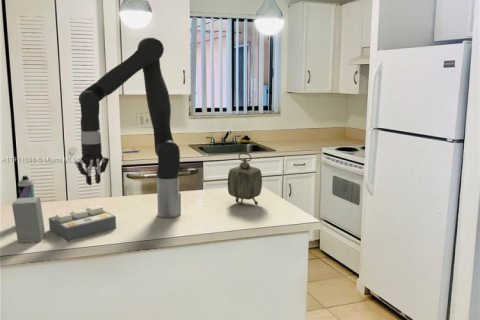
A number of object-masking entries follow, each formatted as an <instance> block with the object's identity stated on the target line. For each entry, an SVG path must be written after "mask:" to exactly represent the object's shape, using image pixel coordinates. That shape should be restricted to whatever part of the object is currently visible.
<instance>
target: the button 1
mask: <svg viewBox="0 0 480 320" xmlns="http://www.w3.org/2000/svg"><path fill="white" fill-rule="evenodd" d="M70 213H71V212H68V211H64V212H60V213H56V214H55V216H56V221H58V222H59V223H63V222H67V221H71V220H72V215H71V214H70Z"/></svg>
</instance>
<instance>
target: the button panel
mask: <svg viewBox="0 0 480 320" xmlns="http://www.w3.org/2000/svg"><path fill="white" fill-rule="evenodd" d="M84 209H85V210H87V211H88V209H87V208H84ZM69 213H70V214H71V215H72V212H69ZM116 219H117V218H116V216H115V215H114V214H111V213H109V212H108V211H105V210H104V209H103V213H100V214H96V215H91V214H89V213H88V216H87V217H83V218H79V219H76V218H74V217H72V220H71V221H67V222H63V223H59V222H58V221H56V215H55V216H51V217H48V224H49V226H48V227H49V231H51V232H52V233H53V234H55V235H57V236H58V237H59V238H61V239H62V240H64V241H66V242H71V241H75V240H79V239H83V238H87V237H89V236H93V235H97V234H100V233H101V234H102V233H104V232H108V231H111V230H114V229H117V220H116Z"/></svg>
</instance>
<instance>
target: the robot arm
mask: <svg viewBox="0 0 480 320" xmlns="http://www.w3.org/2000/svg"><path fill="white" fill-rule="evenodd" d="M164 47H165V46H164V44H163V42H162V41H161V40H160V39H159V38H156V37H145V38H143V39H141V40H140V41H139V43H138V44H137V50H136V51H135V52H134V53H133V54H131V55H130V56H129V57H128V58H127V59H125V60H124V61H122V62H121V63H119V64H117V65H116V66H115V67H113V68H111V69H110V70H109V71H108V72H106V73H105V74H104V75H102V76H101V77H100V78H99V79H98V80H97V81H96V82H94V83H93V84H91V85H89V86H88V87H87V88H86V89H84V90H83V91H82V92H81V93H79V96H78V102H79V105H80V114H81V118H80V130H81V131H80V143H81V144H80V145H81V146H80V147H81V154H82V156H81V158H80V159H79V161H75V166H76V167H77V169H78V172H79V173H80V175H83V176H85V182H86V184H87V185H88V186H91V185H92V184H93V183H92V176H91V175H92V170H93V169H94V172H95V174H94V180H95V181H94V182H95V184H100V183H101V182H102V181H101V175H102V173H105V172H106V169H107V167H108V163H109V160H110V159H109V158H108V157H104V156H103V153H102V149H103V148H102V134H101V127H100V125H101V124H100V102H101V100H103V99H104V98H106V97H107V96H110V95H112V94H113V93H114V92H116V91H117V90H118V89H119V88H120V87H121V86H122V85H124V84H125V83H126V82H128V80H129V79H131V78H132V77H133V76H134V75H135V74H137V73H139V71H141V70H142V72H143V78H144V88H145V96H146V102H147V103H146V104H147V108H148V112H149V117H150V121H151V125H152V130H153V139H154V142H153V143H154V151H155V155H156V156H157V162H158V163H157V164H158V165H157V166H158V167H157V171H156V185H157V186H156V190H157V192H156V193H157V196H156V198H157V216H158V217H160V218H166V219H167V218H175V217H178V216H179V215H181V214H182V203H181V202H182V201H181V199H182V197H181V192H179V191H180V189H179V188H180V187H179V185H180V184H179V173H180V169H181V168H180V166H181V164H180V163H181V153H180V148H179V147H180V146H179V145H178V144H177V143H175V142H174V138H173V135H172V130H171V117H172V115H171V114H172V113H171V110H172V108H171V107H172V106H171V101H170V99H171V98H170V94H169V90H168V88H167V84H166V82H165V80H164V77H163V74H162V68H161V63H160V62H161V61H160V59H161V57H162V56H163V54H164V52H165V51H164V50H165V48H164ZM100 163H101V164H100ZM83 165H84V166H83Z"/></svg>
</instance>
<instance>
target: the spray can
mask: <svg viewBox="0 0 480 320" xmlns="http://www.w3.org/2000/svg"><path fill="white" fill-rule="evenodd" d="M17 188H18V196H19V197H18V198H31V197H35V191H34V189H35V187H34V181H33V180H31V179H30V178H29V177H28V175H23V176H22V178H21V180H20V181H19V180H18V183H17Z"/></svg>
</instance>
